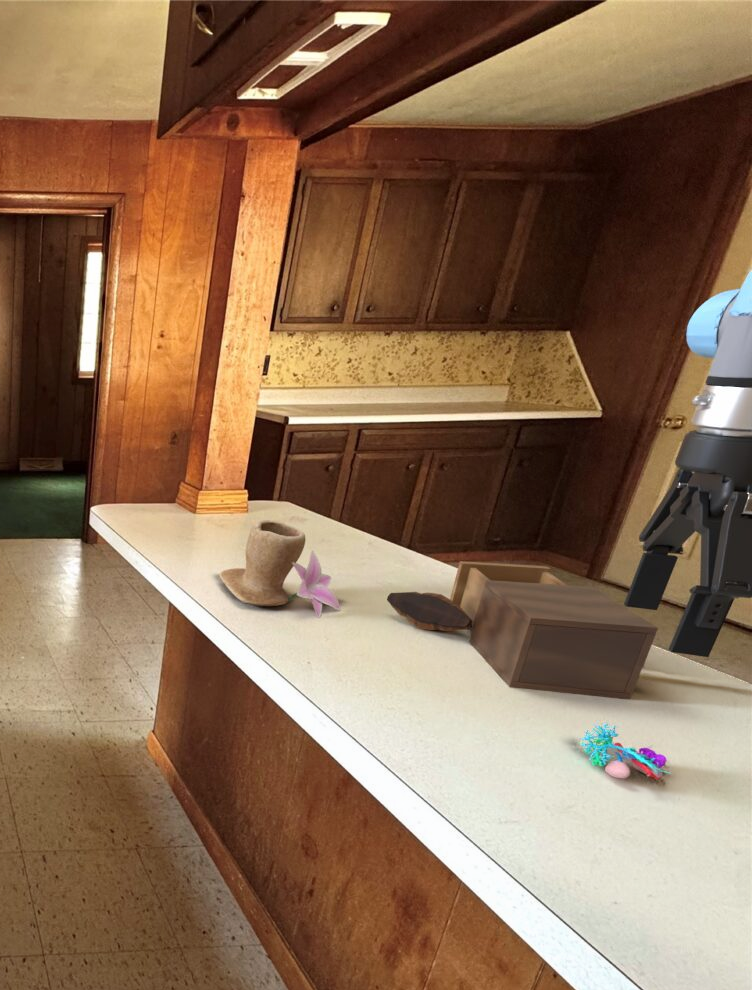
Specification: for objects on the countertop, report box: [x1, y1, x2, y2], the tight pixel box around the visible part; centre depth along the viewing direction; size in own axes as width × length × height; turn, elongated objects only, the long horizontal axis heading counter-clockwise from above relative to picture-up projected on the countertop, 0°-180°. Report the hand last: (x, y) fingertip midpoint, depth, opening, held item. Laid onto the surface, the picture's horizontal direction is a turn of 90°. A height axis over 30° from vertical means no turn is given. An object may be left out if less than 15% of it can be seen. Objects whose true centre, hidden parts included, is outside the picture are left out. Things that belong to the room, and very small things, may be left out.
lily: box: [288, 550, 342, 618], centre depth 123 cm, size 12×12×10 cm
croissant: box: [386, 591, 473, 632], centre depth 113 cm, size 14×7×5 cm
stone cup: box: [218, 519, 306, 607], centre depth 127 cm, size 15×12×15 cm
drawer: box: [449, 560, 567, 627], centre depth 112 cm, size 20×13×9 cm, turn 162°
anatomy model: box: [579, 722, 670, 781], centre depth 75 cm, size 5×8×7 cm
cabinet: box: [468, 580, 659, 700], centre depth 98 cm, size 16×14×11 cm
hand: (662, 628), depth 72 cm, fingers open, 13 cm apart
